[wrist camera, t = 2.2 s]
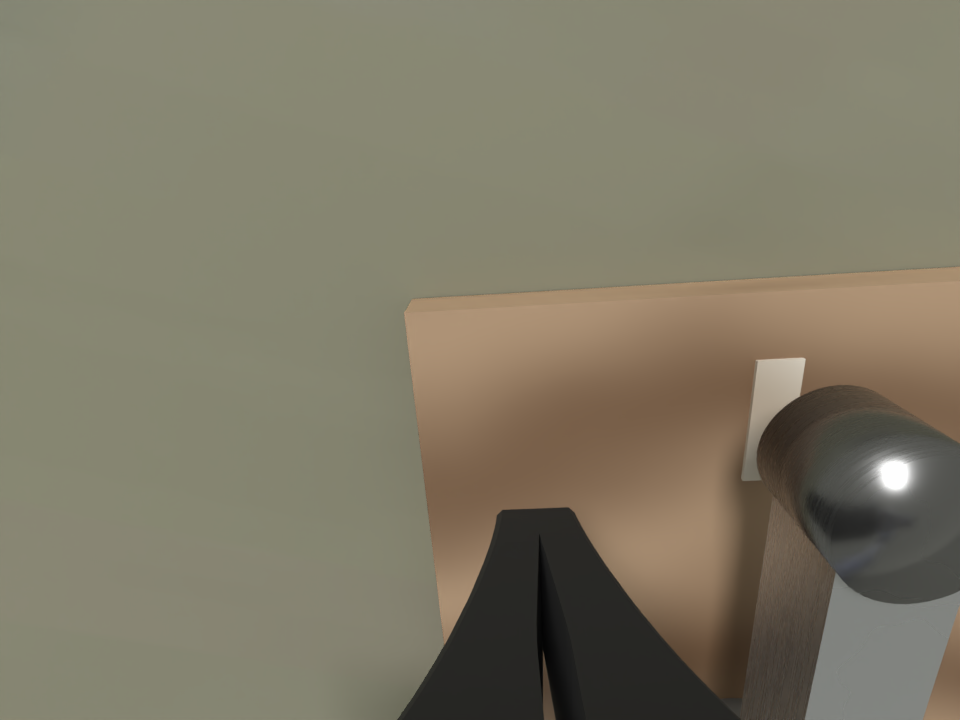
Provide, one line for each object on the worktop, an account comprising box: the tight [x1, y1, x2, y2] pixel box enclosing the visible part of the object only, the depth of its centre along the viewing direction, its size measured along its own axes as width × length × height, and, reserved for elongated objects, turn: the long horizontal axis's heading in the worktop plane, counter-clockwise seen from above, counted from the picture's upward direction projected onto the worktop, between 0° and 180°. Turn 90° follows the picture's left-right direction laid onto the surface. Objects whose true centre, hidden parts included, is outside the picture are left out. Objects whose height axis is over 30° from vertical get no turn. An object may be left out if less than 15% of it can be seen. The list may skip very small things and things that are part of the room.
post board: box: [404, 267, 960, 720], centre depth 14 cm, size 22×22×3 cm
